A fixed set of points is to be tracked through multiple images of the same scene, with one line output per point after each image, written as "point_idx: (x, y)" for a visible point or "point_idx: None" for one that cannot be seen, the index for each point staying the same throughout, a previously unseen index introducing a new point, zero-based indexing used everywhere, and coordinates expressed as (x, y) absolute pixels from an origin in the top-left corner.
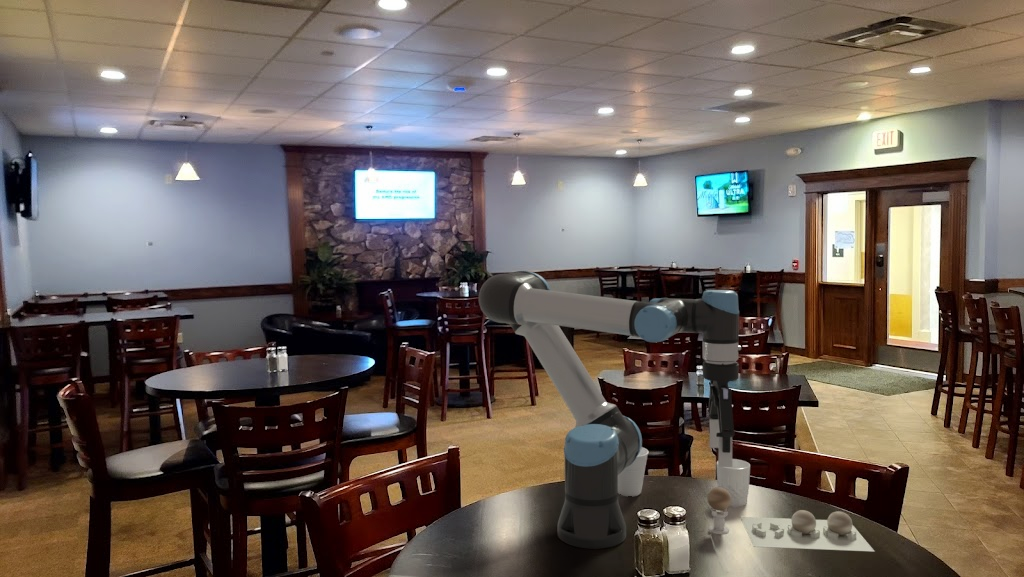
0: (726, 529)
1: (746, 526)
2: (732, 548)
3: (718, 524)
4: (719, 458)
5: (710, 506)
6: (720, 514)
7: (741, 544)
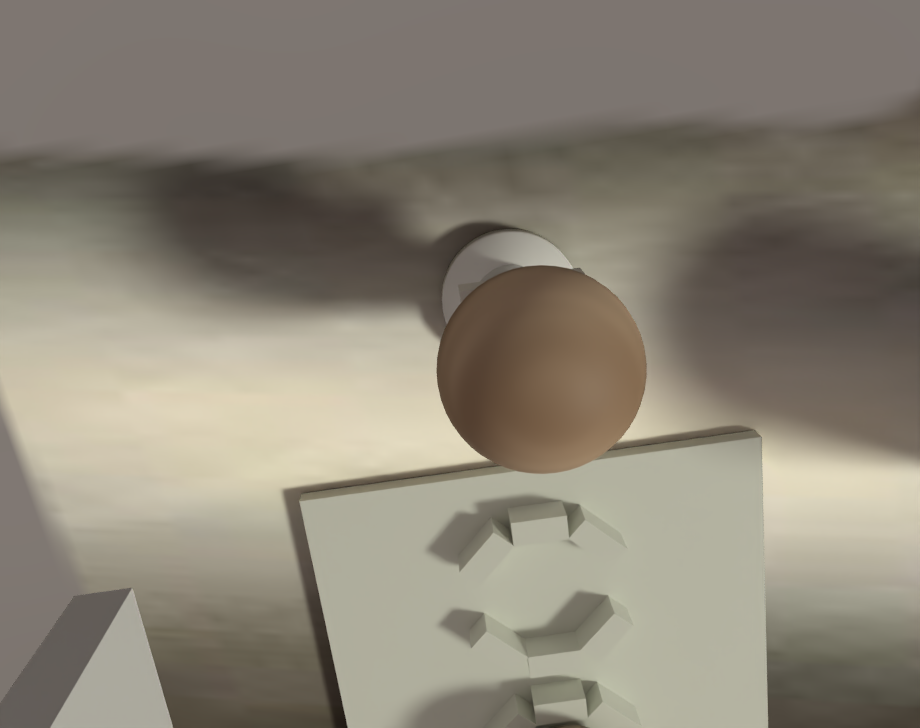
0: None
1: (602, 469)
2: (278, 375)
3: None
4: (15, 695)
5: None
6: None
7: (354, 427)
